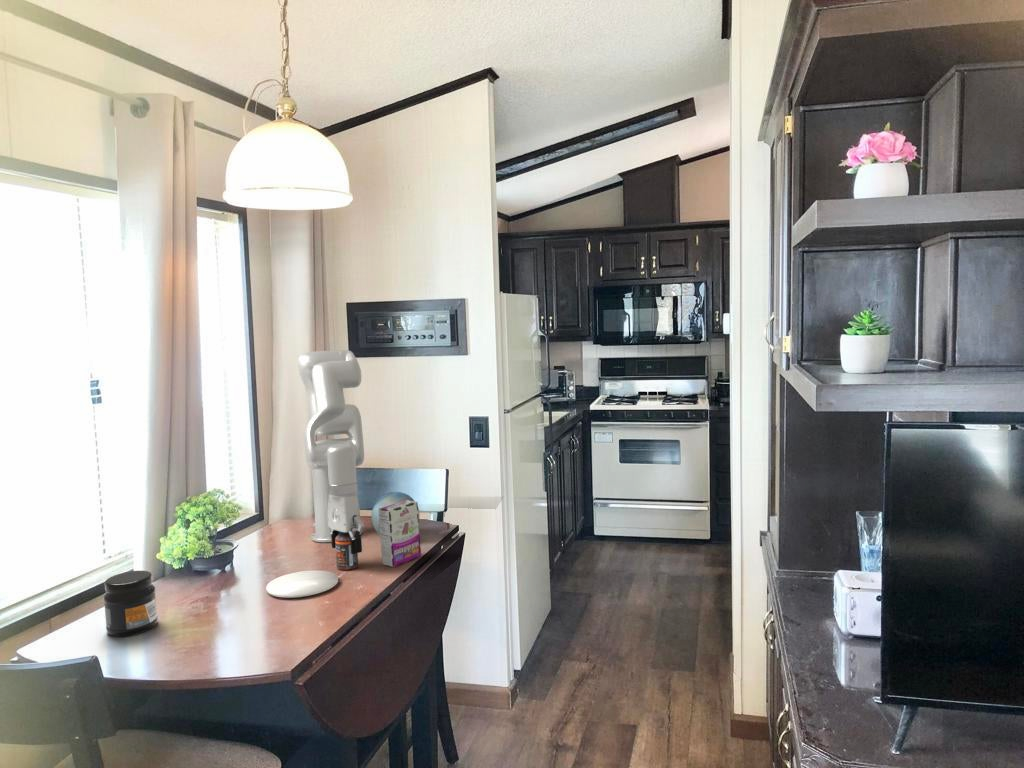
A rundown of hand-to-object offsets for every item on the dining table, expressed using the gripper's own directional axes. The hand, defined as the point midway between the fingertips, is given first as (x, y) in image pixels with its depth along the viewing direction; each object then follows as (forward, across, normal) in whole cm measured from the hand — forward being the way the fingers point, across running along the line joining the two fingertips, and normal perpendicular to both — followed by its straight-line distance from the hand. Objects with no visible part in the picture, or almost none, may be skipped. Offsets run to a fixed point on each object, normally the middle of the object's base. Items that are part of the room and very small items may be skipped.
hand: (346, 549), depth 199 cm
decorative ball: (+5, -12, +25) cm, 28 cm away
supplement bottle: (+5, -1, 0) cm, 5 cm away
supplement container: (+6, -4, -55) cm, 55 cm away
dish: (+5, +3, -16) cm, 17 cm away
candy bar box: (+5, +7, +13) cm, 16 cm away
